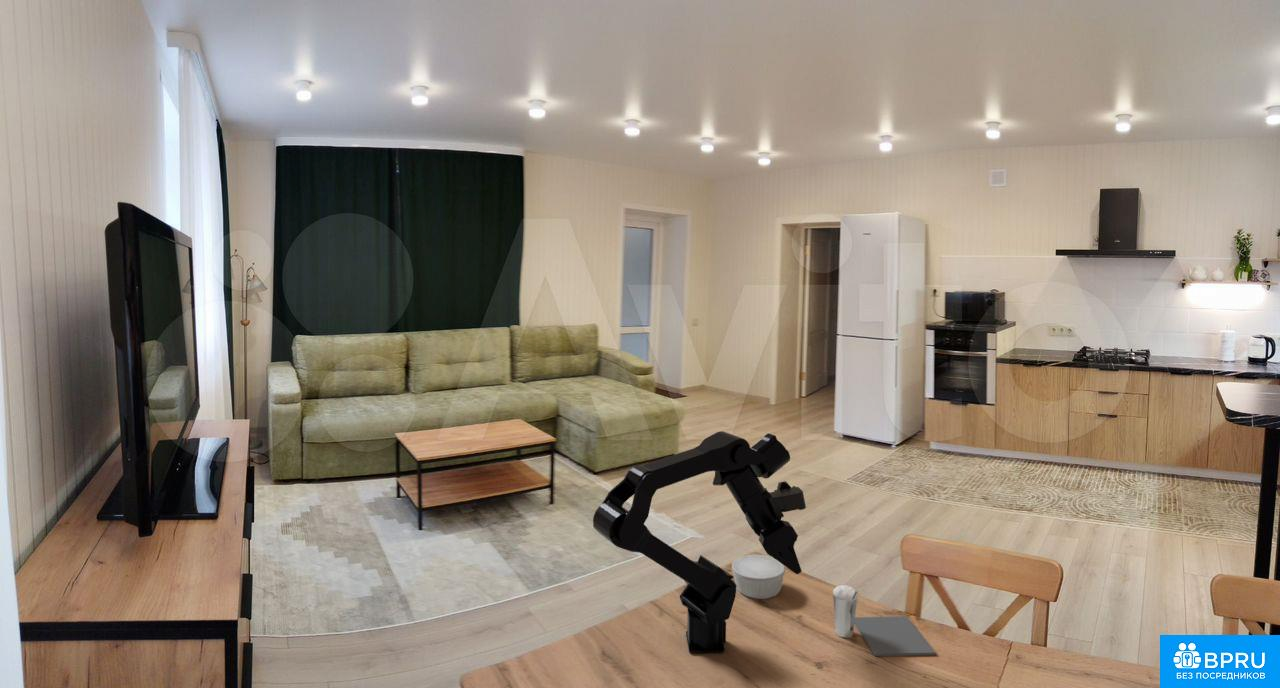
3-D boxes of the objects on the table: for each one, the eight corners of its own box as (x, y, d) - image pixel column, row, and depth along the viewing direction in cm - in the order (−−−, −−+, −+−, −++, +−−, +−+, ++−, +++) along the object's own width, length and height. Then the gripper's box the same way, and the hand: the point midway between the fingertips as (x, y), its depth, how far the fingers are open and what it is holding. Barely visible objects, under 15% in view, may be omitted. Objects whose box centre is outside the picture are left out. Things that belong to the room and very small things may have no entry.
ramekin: (724, 594, 140) (724, 571, 139) (741, 572, 150) (742, 550, 149) (775, 607, 135) (776, 583, 134) (790, 583, 145) (790, 560, 144)
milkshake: (843, 644, 122) (845, 593, 120) (826, 629, 127) (828, 580, 125) (864, 639, 123) (866, 589, 122) (846, 624, 128) (848, 576, 127)
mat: (874, 656, 118) (875, 653, 118) (851, 619, 130) (851, 617, 130) (935, 655, 118) (935, 652, 118) (906, 618, 130) (906, 616, 130)
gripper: (798, 481, 113) (845, 558, 113) (775, 460, 132) (816, 526, 132) (743, 515, 113) (790, 592, 113) (728, 490, 132) (768, 556, 132)
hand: (793, 564), depth 122 cm, fingers open, 9 cm apart
